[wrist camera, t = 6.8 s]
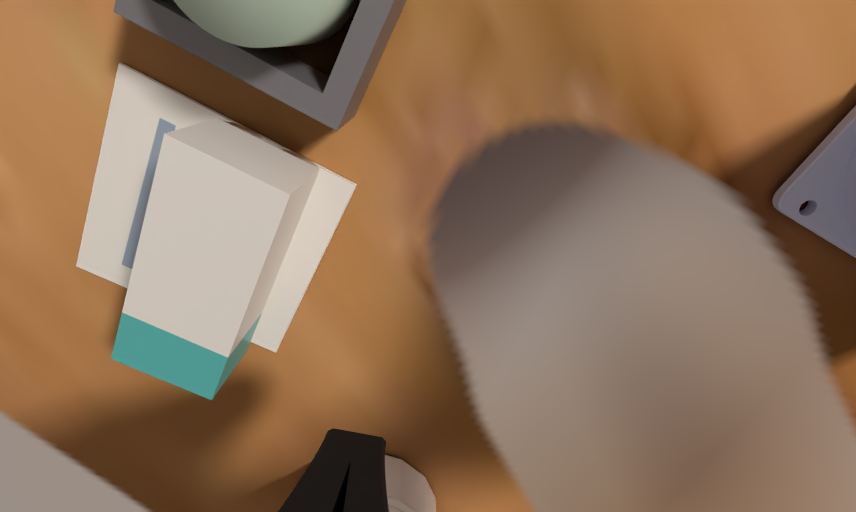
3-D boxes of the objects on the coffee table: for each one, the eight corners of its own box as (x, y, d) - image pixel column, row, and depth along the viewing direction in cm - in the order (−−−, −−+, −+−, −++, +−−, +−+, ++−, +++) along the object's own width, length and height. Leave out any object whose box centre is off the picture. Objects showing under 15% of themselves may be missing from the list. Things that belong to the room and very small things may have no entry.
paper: (357, 184, 16) (356, 186, 15) (277, 350, 19) (275, 353, 19) (122, 63, 14) (117, 63, 14) (79, 264, 17) (75, 267, 17)
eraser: (227, 114, 15) (164, 133, 11) (326, 163, 15) (290, 194, 12) (172, 304, 18) (110, 358, 15) (254, 340, 18) (211, 400, 15)
